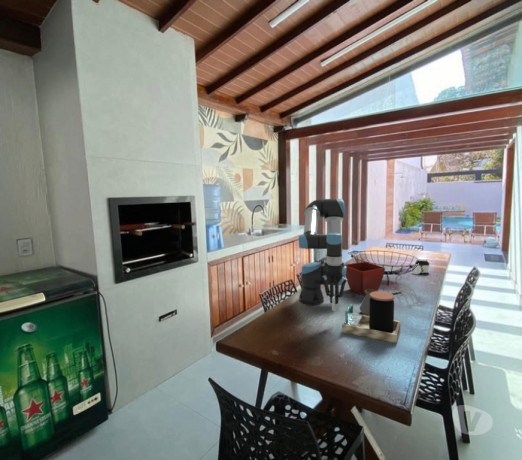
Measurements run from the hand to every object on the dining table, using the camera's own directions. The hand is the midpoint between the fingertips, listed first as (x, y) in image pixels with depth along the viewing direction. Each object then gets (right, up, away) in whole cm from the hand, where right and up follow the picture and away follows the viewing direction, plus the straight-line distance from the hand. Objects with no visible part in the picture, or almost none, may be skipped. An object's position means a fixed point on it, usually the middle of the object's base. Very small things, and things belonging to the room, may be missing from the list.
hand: (334, 309), depth 152 cm
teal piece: (+9, -7, -3) cm, 12 cm away
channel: (+16, -8, -8) cm, 19 cm away
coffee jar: (+20, -8, -10) cm, 23 cm away
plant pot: (+31, 0, +48) cm, 57 cm away
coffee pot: (+27, -6, +9) cm, 29 cm away
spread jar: (+88, +6, +83) cm, 121 cm away
